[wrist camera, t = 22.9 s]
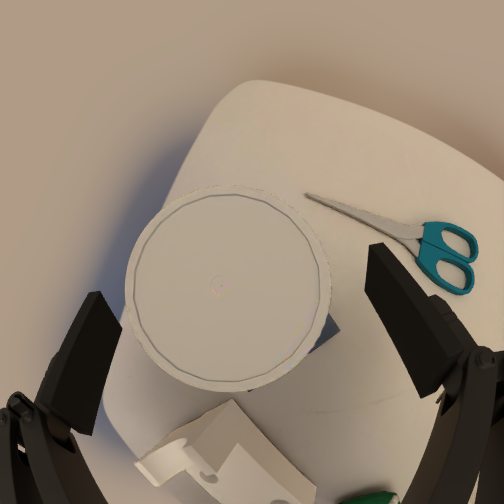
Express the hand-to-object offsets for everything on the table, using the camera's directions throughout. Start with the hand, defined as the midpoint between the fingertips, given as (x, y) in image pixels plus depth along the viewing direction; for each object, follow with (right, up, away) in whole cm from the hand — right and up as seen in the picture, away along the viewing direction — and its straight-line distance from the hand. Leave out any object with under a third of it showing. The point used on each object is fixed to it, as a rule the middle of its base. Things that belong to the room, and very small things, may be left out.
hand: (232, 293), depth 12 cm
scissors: (+15, +4, +11) cm, 19 cm away
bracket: (0, -18, +7) cm, 20 cm away
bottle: (+1, -2, +10) cm, 10 cm away
